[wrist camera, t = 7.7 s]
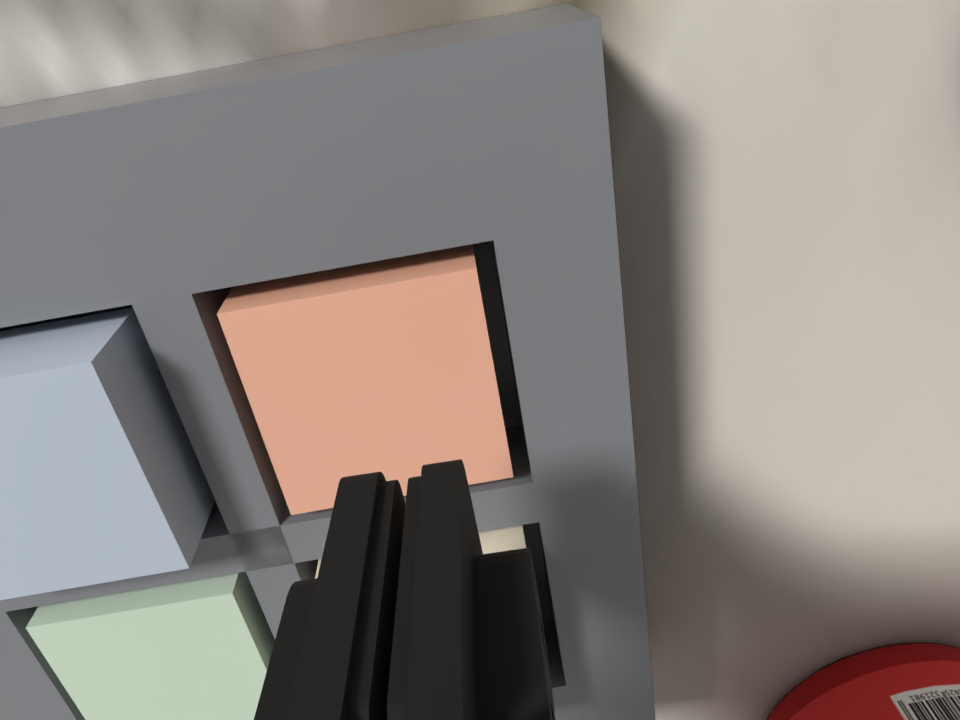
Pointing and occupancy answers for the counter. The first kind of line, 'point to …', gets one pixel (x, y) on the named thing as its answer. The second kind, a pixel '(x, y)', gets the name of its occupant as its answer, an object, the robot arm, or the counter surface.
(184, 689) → the sage key
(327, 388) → the terracotta key
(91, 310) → the keypad
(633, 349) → the counter surface
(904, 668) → the canned food
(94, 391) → the slate key
